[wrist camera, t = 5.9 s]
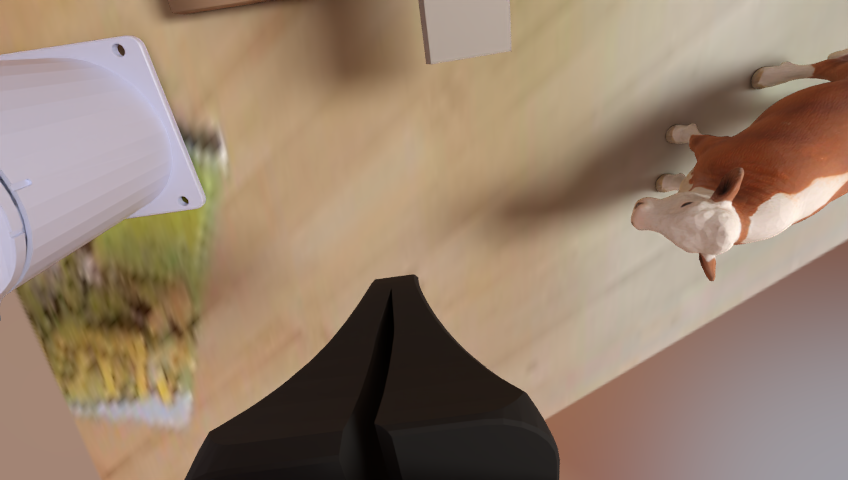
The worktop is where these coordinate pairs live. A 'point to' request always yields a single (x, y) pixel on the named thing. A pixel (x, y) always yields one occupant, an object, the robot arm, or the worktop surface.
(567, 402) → the worktop surface
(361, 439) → the robot arm
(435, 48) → the tilted wooden ramp
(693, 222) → the bull figurine
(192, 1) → the base board
